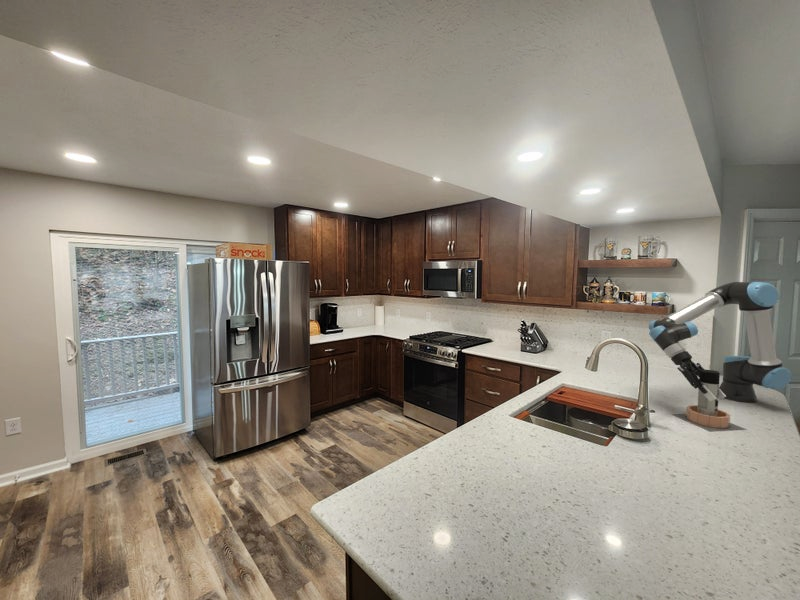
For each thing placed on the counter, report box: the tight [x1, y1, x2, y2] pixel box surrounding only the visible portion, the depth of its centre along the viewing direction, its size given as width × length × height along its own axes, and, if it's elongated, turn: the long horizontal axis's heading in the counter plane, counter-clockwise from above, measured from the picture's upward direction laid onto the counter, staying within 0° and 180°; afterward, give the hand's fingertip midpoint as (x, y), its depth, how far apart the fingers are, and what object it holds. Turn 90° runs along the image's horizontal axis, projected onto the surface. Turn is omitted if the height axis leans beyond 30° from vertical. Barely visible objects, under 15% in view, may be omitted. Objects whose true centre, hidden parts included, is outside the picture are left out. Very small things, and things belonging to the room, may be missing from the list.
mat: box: [670, 413, 748, 432], centre depth 149 cm, size 18×18×1 cm
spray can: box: [697, 368, 721, 417], centre depth 149 cm, size 7×7×20 cm
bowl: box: [685, 404, 731, 429], centre depth 149 cm, size 14×14×5 cm
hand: (718, 398), depth 145 cm, fingers closed on spray can, 7 cm apart
